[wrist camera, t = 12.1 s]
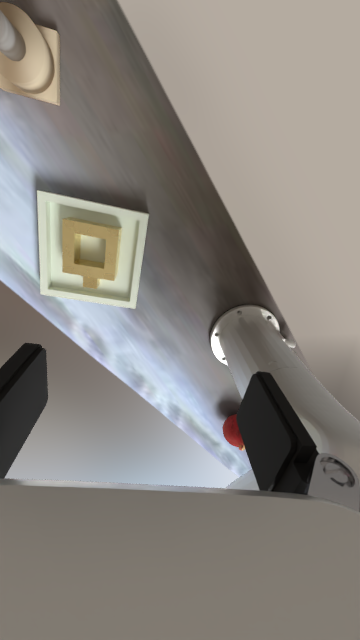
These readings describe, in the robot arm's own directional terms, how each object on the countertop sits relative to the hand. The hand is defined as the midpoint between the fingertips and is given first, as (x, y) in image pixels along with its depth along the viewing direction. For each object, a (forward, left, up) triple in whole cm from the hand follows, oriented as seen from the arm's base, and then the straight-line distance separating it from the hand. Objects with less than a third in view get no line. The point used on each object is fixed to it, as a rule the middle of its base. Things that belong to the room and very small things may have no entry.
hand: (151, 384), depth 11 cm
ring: (+9, +1, -29) cm, 30 cm away
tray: (+9, +2, -30) cm, 31 cm away
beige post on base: (+17, -18, -30) cm, 38 cm away
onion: (-22, +32, -30) cm, 49 cm away
